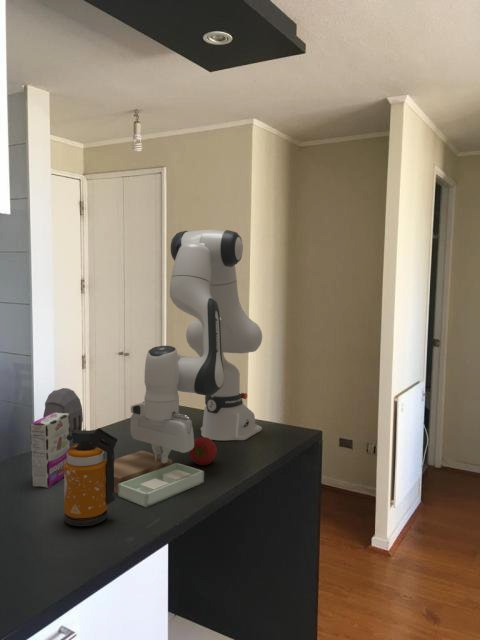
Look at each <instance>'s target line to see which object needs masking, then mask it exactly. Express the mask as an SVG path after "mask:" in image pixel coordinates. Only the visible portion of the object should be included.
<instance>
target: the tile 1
mask: <svg viewBox="0 0 480 640" xmlns="http://www.w3.org/2000/svg"><path fill="white" fill-rule="evenodd" d="M168 484H169V483H167V482H164V481H161V480H158V479H152V480H149V481H147V482H144V483H141V484H140V491H142V492H145V493H148V492H151V491H153V490H156V489H158V488H161V487H163V486H166V485H168Z"/></svg>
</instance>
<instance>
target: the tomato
mask: <svg viewBox="0 0 480 640" xmlns="http://www.w3.org/2000/svg"><path fill="white" fill-rule="evenodd" d="M217 452H218V450H217V445H216V443H215V442H214V441H213V440H212V439H209V438H206V437H203V436H199V437H197V438H194V448H193V449H192V450H191V451H188V454H189V458H190V459H191V460H192V462H193V463H195V464H196V465H199V466H206V465H210V464H211V463H212V462H213V461H214V459H215V458H216V456H217Z"/></svg>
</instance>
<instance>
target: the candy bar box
mask: <svg viewBox="0 0 480 640" xmlns="http://www.w3.org/2000/svg"><path fill="white" fill-rule="evenodd" d="M29 426H30V451H31V453H30V454H31V483H32V484H31V486H32V487H33V488H45V489H49V488H52V486H54V485H55V484H57V483H58V482H60V481H61V480H63V478H64V464H65V462H66V461H67V452H68V450H69V448H70V440H67V438H66V437H67V435H68V434H69V433H70V431H69V414H68V413H52V414H50V415H48V416H46V417H41V418H40V419H37V420H35V421H33V422H31V423H30V425H29Z"/></svg>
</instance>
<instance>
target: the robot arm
mask: <svg viewBox="0 0 480 640" xmlns="http://www.w3.org/2000/svg"><path fill="white" fill-rule="evenodd" d="M170 242H171V243H170V254H171V257H172V259H173V260H174V263H173V267H172V271H171V278H170V284H169V297H170V299H171V301H172V303H173V305H174V306H175V307H177V309H179V310H180V311H182V312H184V313H186V314H188V315H190V316H192V317H194V318H196V319H197V320H193V321H192V322H191V323H190V324H189V325H188V327H187V329H186V331H185V332H186V334H185V337H186V341H187V344H188V345H189V347H190V348H191V349H192V350H193V351H194V352H196V354H197V355H198V357H197V356H187V355H181V354H178V351H177V348H176V347H174V346H172V345H160V346H159V345H158V346H154V347H152V348H150V349H149V350H148V351H147V354H146V357H145V363H144V385H145V394H144V401H142V402H140V403H135V404H132V405H130V412H131V415H130V424H129V425H130V427H129V429H130V435H131V437H132V439H133V440H138V441H140V442H144V443H147V444H151V449H152V452H153V454H155V461H157V462H161V463H167V462H168V457H169V455H170V453H171V451H176V452H179V453H182V454H185V453H189V451H191V450H192V449H193V448H194V440H195V437H194V435H195V434H194V428H193V421H192V420H191V418H190V417H189V416H188V415H186V414H183V413H180V395H179V392H181V393H190V394H191V393H193V394H196V395H201V396H204V404H205V407H204V411H203V419H202V426H201V427H200V433H201V437H206V438H209V439H211V440H212V441H213V440H214V441H245V440H247V439H249V438H251V437H252V436H254V435H256V434H258V433H259V432H261V431H262V430H263V429H262V428H263V427H262V426H260V425H258V424H256V417H255V413H254V411H252V410H251V409H250V408H249V407H248V406H246V405H245V404H244V401H243V400H247V398H248V394H247V393H246V392H245V393H244V392H241V391H240V390H241V389H240V387H241V386H240V385H241V384H240V382H241V381H240V380H241V377H240V376H241V373H240V371H239V369H238V368H237V366H235V365H234V364H232V363H231V362H229V361H228V360H227V359H226V357H225V354H226V353H227V354H248V353H253V352H256V351H257V350H258V349H259V348H260V347H261V345H262V341H263V333H262V329H261V327H260V326H259V324H257V322H255V321H253V320H252V319H251V318H250V317H249V316H248V315H247V314H246V312H245V311H244V308H243V307H242V305H241V303H240V298H239V292H238V281H237V272H236V265H237V264H238V263H240V261H241V259H242V256H243V253H244V245H243V239H242V237H241V235H240V234H239V233H238V232H237V231H233V230H228V229H226V230H222V229H221V230H220V229H210V228H209V229H200V230H199V229H198V230H184V231H183V230H182V231H179V232H177V233H176V234H175V235H173V237H172V238H171V241H170ZM224 353H225V354H224Z"/></svg>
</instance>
